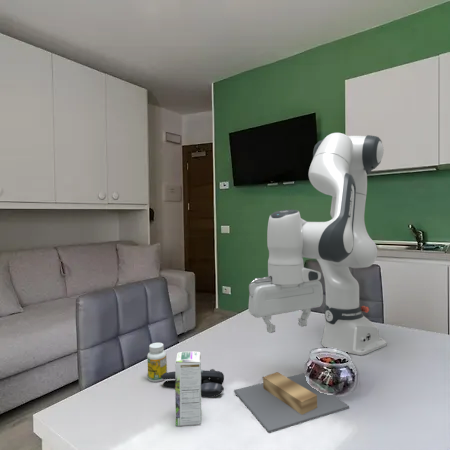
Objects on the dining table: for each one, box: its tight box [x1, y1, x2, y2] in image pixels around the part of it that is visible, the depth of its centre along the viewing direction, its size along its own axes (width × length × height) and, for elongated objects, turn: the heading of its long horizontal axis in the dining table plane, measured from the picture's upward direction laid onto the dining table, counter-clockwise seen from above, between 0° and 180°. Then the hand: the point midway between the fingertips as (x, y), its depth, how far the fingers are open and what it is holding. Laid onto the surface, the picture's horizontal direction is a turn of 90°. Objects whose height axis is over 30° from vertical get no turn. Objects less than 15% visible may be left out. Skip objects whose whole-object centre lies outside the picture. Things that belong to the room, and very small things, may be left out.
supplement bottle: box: [146, 342, 168, 383], centre depth 96 cm, size 5×5×10 cm
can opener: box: [161, 368, 225, 398], centre depth 89 cm, size 18×7×6 cm, turn 75°
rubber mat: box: [233, 372, 350, 434], centre depth 83 cm, size 22×18×1 cm
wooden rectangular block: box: [262, 371, 317, 415], centre depth 83 cm, size 14×5×3 cm, turn 32°
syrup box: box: [174, 350, 202, 427], centre depth 76 cm, size 6×6×14 cm
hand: (287, 328), depth 84 cm, fingers open, 8 cm apart
